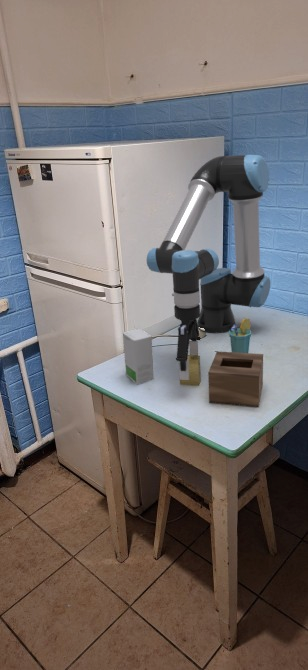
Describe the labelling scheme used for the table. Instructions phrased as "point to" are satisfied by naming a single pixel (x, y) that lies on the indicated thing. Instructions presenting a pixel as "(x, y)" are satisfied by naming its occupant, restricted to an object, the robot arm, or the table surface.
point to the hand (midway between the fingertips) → (189, 369)
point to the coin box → (236, 379)
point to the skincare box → (138, 355)
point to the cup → (240, 337)
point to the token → (193, 371)
